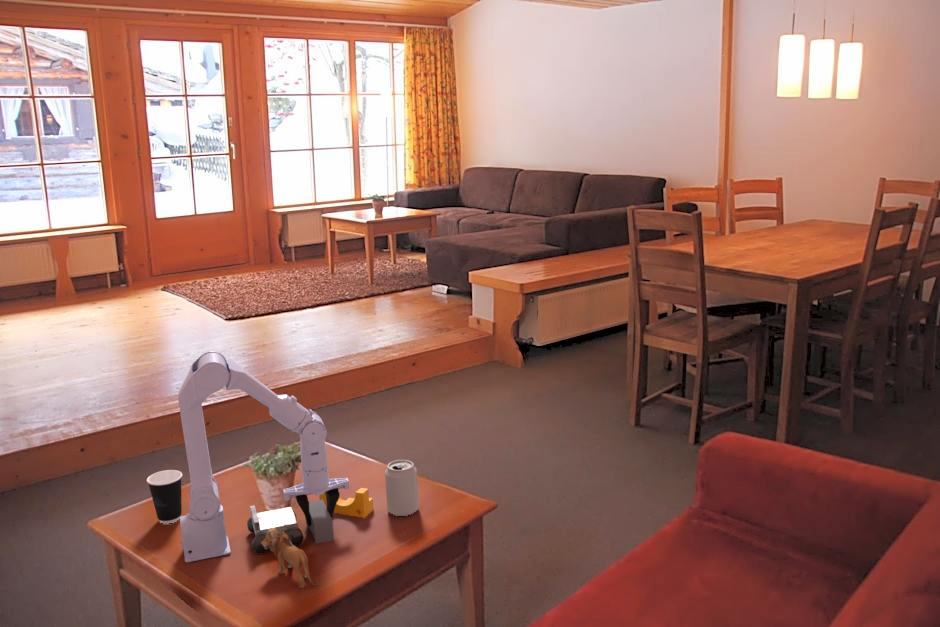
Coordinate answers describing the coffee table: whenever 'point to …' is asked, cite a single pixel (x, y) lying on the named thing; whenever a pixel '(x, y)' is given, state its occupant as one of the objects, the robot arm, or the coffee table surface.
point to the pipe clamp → (353, 504)
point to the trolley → (273, 526)
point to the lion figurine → (287, 554)
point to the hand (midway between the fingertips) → (319, 522)
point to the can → (401, 488)
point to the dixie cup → (166, 495)
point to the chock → (320, 522)
